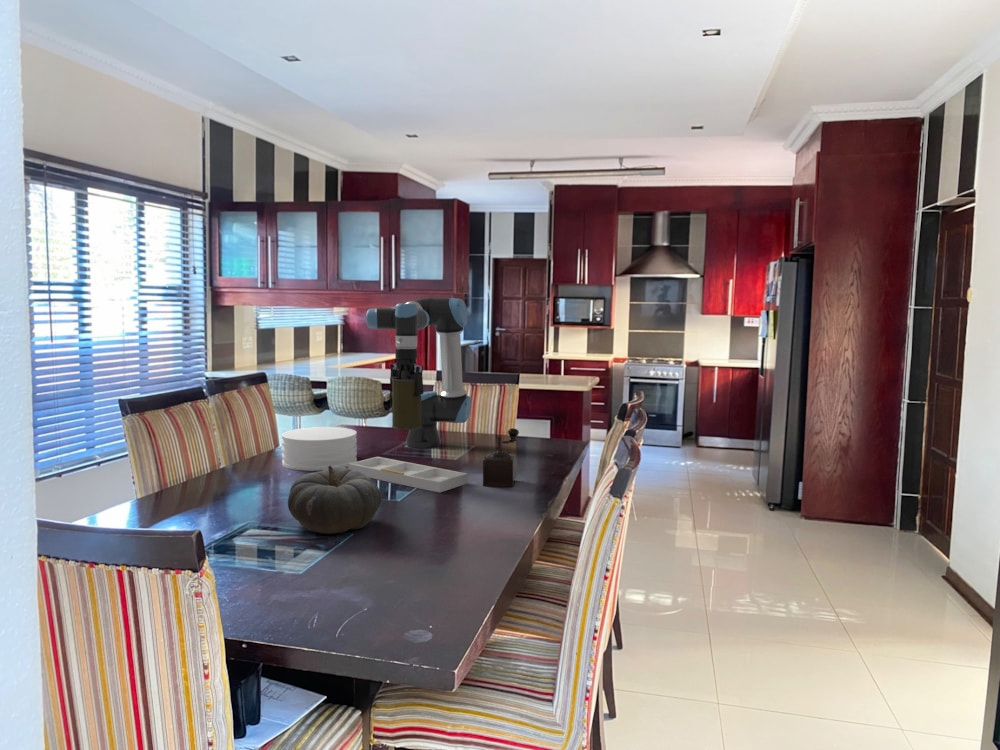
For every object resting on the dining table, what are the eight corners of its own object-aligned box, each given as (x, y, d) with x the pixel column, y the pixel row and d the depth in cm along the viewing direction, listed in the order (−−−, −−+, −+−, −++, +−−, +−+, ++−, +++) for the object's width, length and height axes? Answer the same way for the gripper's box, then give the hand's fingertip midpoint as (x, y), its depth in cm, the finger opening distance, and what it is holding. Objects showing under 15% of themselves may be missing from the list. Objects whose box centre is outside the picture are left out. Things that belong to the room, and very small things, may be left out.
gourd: (345, 497, 211) (345, 444, 206) (400, 528, 196) (402, 471, 191) (271, 524, 193) (270, 467, 188) (326, 560, 178) (326, 499, 173)
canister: (424, 425, 249) (424, 369, 247) (418, 430, 239) (418, 372, 237) (394, 424, 250) (394, 369, 248) (387, 429, 240) (386, 371, 238)
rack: (348, 473, 252) (348, 462, 252) (377, 465, 265) (377, 455, 264) (439, 492, 228) (439, 480, 228) (467, 483, 240) (467, 472, 240)
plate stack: (365, 455, 282) (365, 427, 281) (343, 472, 255) (343, 441, 253) (298, 453, 285) (298, 425, 284) (269, 469, 257) (269, 438, 256)
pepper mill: (514, 487, 235) (515, 435, 234) (482, 486, 237) (482, 434, 235) (518, 476, 251) (519, 427, 249) (488, 475, 252) (489, 426, 250)
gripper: (378, 347, 244) (378, 412, 246) (420, 349, 233) (419, 417, 235) (393, 346, 250) (393, 409, 252) (434, 348, 239) (434, 415, 242)
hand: (406, 413), depth 244 cm, fingers open, 6 cm apart
